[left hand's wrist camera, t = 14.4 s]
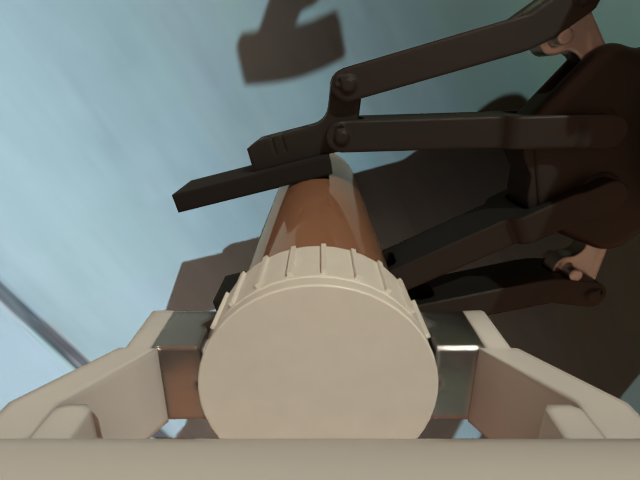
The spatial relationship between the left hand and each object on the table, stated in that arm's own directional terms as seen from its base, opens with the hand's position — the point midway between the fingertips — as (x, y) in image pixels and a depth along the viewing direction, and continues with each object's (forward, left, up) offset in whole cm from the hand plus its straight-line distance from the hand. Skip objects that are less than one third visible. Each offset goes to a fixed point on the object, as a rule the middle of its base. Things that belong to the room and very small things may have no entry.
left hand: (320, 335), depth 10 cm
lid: (0, 0, +2) cm, 2 cm away
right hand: (-5, +2, -9) cm, 11 cm away
